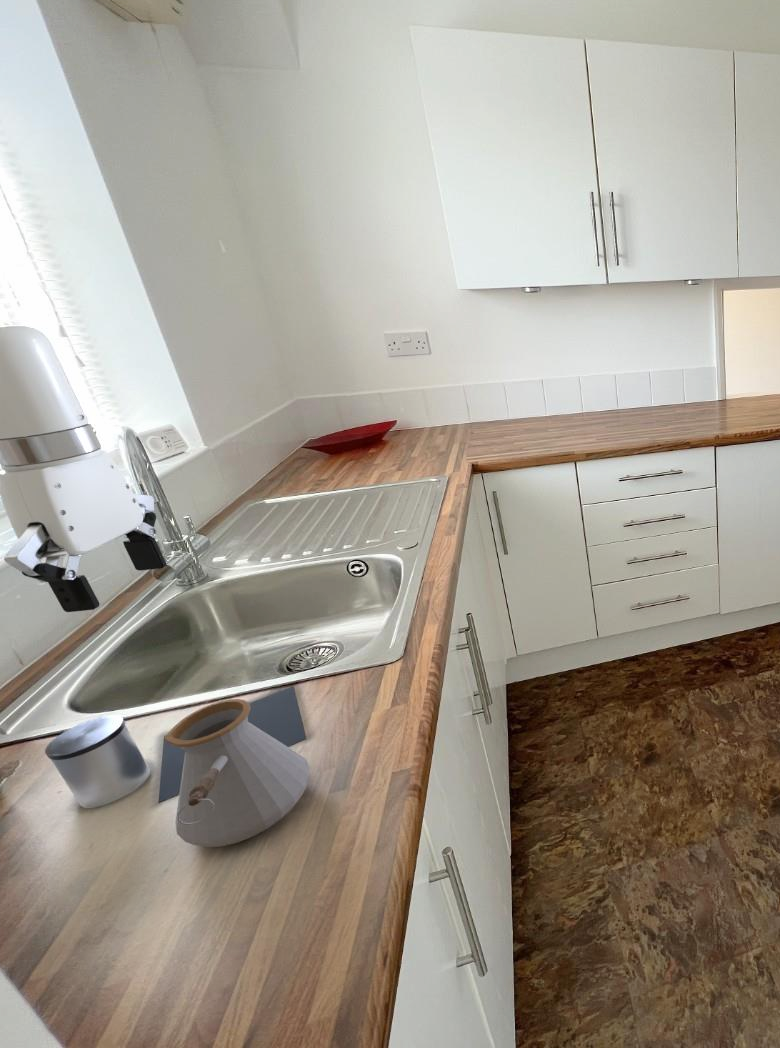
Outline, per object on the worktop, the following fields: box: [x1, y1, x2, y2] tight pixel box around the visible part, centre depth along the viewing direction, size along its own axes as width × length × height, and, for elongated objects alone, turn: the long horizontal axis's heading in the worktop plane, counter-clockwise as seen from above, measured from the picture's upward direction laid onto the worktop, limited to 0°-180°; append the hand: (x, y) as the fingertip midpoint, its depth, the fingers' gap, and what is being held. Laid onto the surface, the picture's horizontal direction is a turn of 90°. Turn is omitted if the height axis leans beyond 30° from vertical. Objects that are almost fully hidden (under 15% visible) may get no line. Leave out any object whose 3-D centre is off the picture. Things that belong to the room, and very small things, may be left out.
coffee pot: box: [163, 698, 311, 848], centre depth 57 cm, size 21×12×15 cm, turn 37°
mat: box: [158, 685, 307, 804], centre depth 74 cm, size 14×14×1 cm
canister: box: [44, 714, 151, 809], centre depth 66 cm, size 6×6×8 cm
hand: (119, 587), depth 68 cm, fingers open, 9 cm apart
